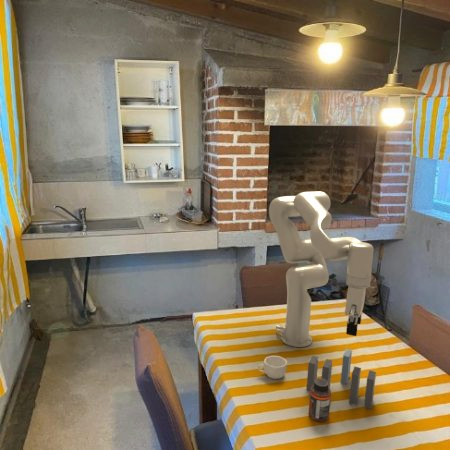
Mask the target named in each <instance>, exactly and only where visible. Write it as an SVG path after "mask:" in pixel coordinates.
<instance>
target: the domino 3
mask: <svg viewBox="0 0 450 450" xmlns="http://www.w3.org/2000/svg"><path fill="white" fill-rule="evenodd" d="M352 352H353V350H351V349H348V348H345V350H344V353H343V355H342V356H343V357H342V365H341V373H340V374H341V375H340V383H342V384H345V385H347V384H348V381H349V378H350V373H351V364H352V355H353V353H352Z"/></svg>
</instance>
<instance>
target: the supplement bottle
mask: <svg viewBox="0 0 450 450" xmlns="http://www.w3.org/2000/svg"><path fill="white" fill-rule="evenodd" d="M331 396H332V390H331V389H329V387H328V382H327V381H326V380H325V379H322V377H321V378H320V377H319V378H318V377H317V379H315V381H314V385H313V386H312V387H311V389H310V391H309V402H308V415H309V418H311V420H313V421H316V422H319V423H321V422H325V421H327V420H329V416H330V411H331V410H330V407H331V398H332V397H331Z"/></svg>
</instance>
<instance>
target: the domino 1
mask: <svg viewBox="0 0 450 450" xmlns="http://www.w3.org/2000/svg"><path fill="white" fill-rule="evenodd" d="M319 357H320V356H317V355H311V357H310V359H309V362H308V367H307V378H306V379H307V380H306V391H307V392H310V389H311V387H312V386H313V385H314V381H315V379H318V371H319V369H318V368H319Z"/></svg>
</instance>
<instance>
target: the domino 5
mask: <svg viewBox="0 0 450 450" xmlns="http://www.w3.org/2000/svg"><path fill="white" fill-rule="evenodd" d="M376 376H377V371H374V370H368V375H367V377H366V385H365V386H366V387H365V393H364V394H365V395H364V404H363V408H364V409H368V410H371V409H372V405H373V403H374V401H373V400H374V394H375V384H376Z"/></svg>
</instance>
